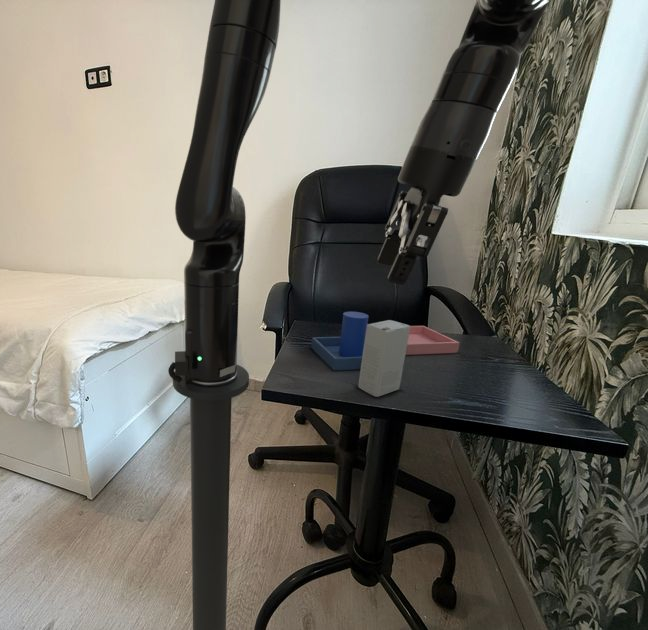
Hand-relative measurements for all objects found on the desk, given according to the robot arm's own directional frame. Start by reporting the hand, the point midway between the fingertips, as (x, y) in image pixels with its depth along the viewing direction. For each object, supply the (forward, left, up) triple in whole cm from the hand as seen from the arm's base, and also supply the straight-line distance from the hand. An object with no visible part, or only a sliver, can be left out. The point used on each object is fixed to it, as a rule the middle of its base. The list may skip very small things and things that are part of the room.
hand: (389, 272), depth 51 cm
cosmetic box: (+5, +5, -22) cm, 23 cm away
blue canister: (+7, +20, -21) cm, 30 cm away
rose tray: (+26, +26, -22) cm, 43 cm away
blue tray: (+7, +20, -22) cm, 30 cm away
